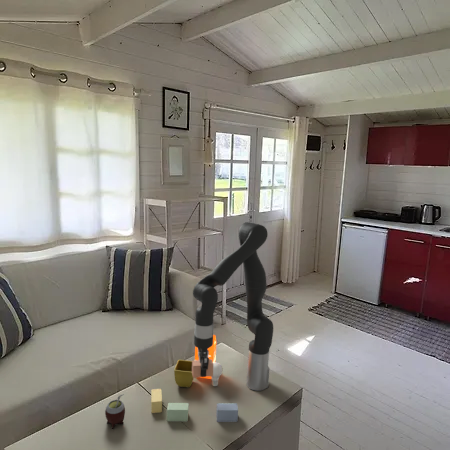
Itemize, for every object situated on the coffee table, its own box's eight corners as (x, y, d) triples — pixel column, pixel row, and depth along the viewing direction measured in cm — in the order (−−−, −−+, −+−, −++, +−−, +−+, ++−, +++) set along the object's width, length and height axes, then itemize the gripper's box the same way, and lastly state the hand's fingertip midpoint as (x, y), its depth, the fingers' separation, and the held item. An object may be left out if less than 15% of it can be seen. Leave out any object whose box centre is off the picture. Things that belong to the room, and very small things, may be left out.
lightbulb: (211, 391, 154) (212, 368, 153) (205, 383, 160) (206, 360, 158) (224, 387, 157) (225, 365, 156) (217, 380, 163) (219, 358, 161)
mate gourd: (109, 416, 136) (109, 380, 134) (129, 417, 136) (129, 382, 134) (102, 430, 129) (101, 393, 127) (123, 431, 129) (123, 394, 126)
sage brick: (188, 414, 140) (188, 403, 139) (187, 421, 136) (188, 409, 135) (167, 414, 139) (168, 402, 138) (166, 421, 135) (167, 409, 134)
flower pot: (196, 379, 163) (197, 361, 161) (192, 391, 154) (193, 372, 153) (177, 377, 163) (178, 359, 162) (173, 388, 155) (173, 370, 153)
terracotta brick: (211, 370, 145) (211, 359, 144) (212, 376, 141) (213, 364, 140) (191, 371, 143) (192, 360, 142) (192, 377, 139) (193, 366, 138)
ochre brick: (151, 400, 147) (151, 389, 146) (161, 399, 148) (161, 388, 147) (151, 413, 139) (151, 402, 138) (161, 412, 140) (161, 401, 139)
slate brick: (236, 414, 141) (237, 403, 140) (237, 421, 137) (238, 410, 136) (216, 414, 140) (216, 403, 139) (216, 421, 136) (217, 410, 136)
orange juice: (197, 367, 172) (199, 329, 169) (215, 369, 171) (217, 331, 168) (193, 376, 164) (195, 336, 161) (212, 379, 163) (214, 339, 160)
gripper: (216, 341, 133) (214, 383, 136) (210, 324, 147) (208, 362, 149) (196, 342, 131) (195, 384, 134) (192, 325, 145) (191, 364, 148)
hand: (202, 373), depth 142 cm, fingers closed on terracotta brick, 4 cm apart
